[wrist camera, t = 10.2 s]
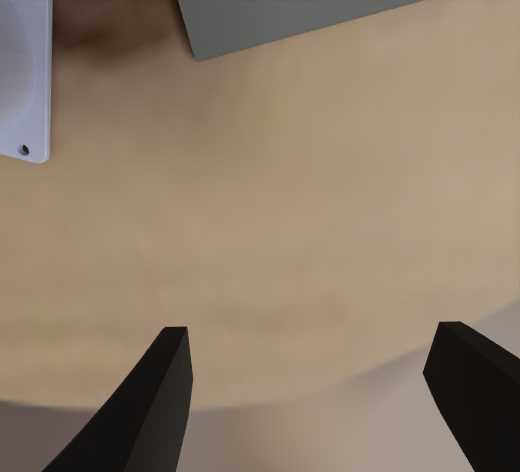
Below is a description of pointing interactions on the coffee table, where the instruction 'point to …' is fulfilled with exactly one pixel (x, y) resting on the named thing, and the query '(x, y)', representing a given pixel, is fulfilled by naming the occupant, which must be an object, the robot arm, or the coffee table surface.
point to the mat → (266, 20)
